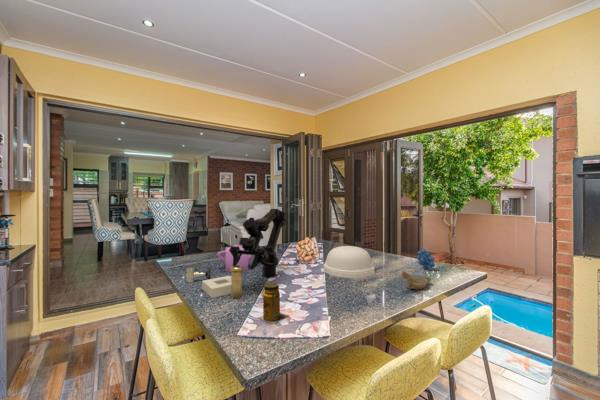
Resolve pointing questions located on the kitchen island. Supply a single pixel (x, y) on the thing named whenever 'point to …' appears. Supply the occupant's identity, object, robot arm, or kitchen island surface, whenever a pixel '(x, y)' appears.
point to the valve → (196, 274)
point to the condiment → (271, 304)
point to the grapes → (425, 259)
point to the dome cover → (349, 262)
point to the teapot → (229, 259)
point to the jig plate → (217, 286)
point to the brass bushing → (236, 281)
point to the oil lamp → (415, 281)
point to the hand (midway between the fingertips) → (242, 268)
